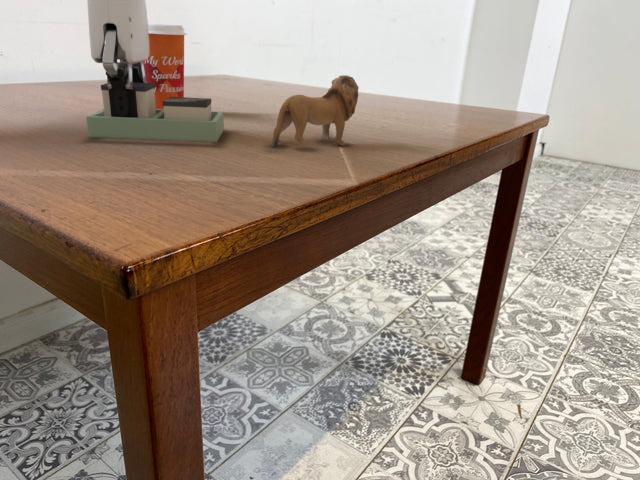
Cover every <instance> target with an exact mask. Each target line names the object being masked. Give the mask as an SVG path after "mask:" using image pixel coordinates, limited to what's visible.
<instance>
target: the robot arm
mask: <svg viewBox="0 0 640 480" xmlns="http://www.w3.org/2000/svg"><path fill="white" fill-rule="evenodd" d="M146 2H147V1H146V0H87V18H88V34H89V35H88V36H89V46H90V56H91V59H92V60H93V61H94V62H95V63H96V64H102V67H103V69H104V70H105V75H106V83H107V86H108V90H109V100H110V110H111V117H130V118H138V113H137V101H136V90H135V89H132V82H135V83H146V78H145V71H144V64H143V63H144V61H145V60H146V59H147V58H148V57H149V31H148V24H149V21H148V13H147V12H148V11H147V3H146ZM118 60H119V62H118Z"/></svg>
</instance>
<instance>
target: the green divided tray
mask: <svg viewBox="0 0 640 480" xmlns="http://www.w3.org/2000/svg"><path fill="white" fill-rule="evenodd" d="M155 110H156V115H155V116H153V117H152V118H130V117H105V116H104V108H102V109H100V110H98V111H96V112H93V113H91V114H89V115H87V116H85V117H86V126H87V134H88V138H102V139H103V138H106V139H108V138H109V139H129V140H131V139H132V140H159V141H185V142H212V143H213V142H214V143H217V142H218V140H219V139H220V137H221V136H222V134H223V132H224V131H225V118H224V117H225V114H224V113H225V112H224V111H219V110H218V111H216V110H211V119H212V121H205V120H180V119H164V109H155Z"/></svg>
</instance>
